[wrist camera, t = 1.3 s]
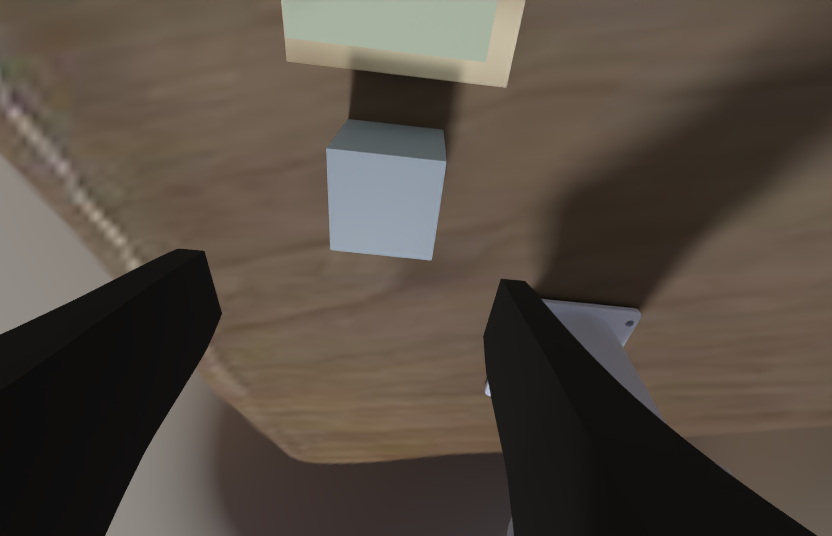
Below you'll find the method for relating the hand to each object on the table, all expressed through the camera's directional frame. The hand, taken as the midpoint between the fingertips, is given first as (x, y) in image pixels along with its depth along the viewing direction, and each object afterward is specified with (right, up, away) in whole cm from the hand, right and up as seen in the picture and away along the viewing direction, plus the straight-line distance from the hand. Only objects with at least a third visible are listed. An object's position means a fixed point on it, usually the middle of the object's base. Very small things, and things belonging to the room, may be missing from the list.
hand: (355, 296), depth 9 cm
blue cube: (0, +6, +9) cm, 11 cm away
